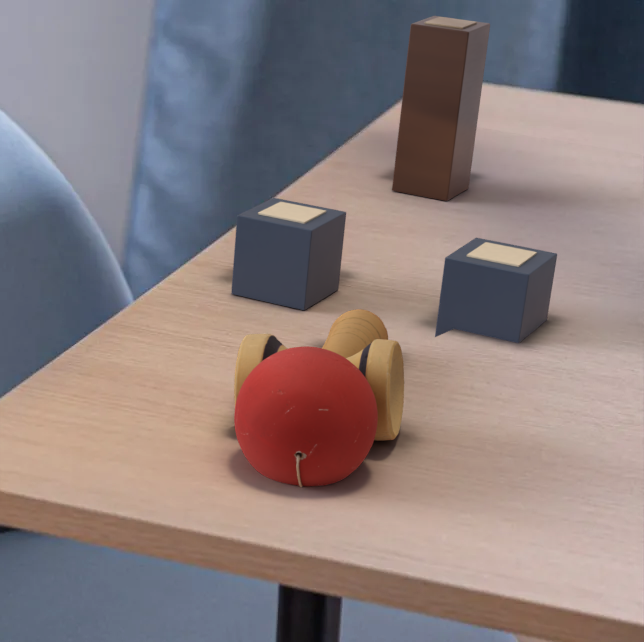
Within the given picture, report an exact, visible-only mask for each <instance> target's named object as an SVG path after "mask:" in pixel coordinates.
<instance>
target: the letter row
mask: <svg viewBox="0 0 644 642" xmlns="http://www.w3.org/2000/svg"><path fill="white" fill-rule="evenodd" d="M346 221H347V211H345V210H338V209H333V208H329V207H323V206H320V205H319V206H317V205H313V204H308V203H303V202H298V201H293V200H288V199H284V198H283V199H282V198H277V197H272V198H270V199H268V200H265V201H264V202H262V203H260V204H257V205H256V206H254V207H251V208H249V209H247V210H245V211H243V212H241V213H239V214H237V215H236V226H235V240H234V252H233V264H232V265H233V266H232V279H231V293H230V294H231V295H234V296H239V297H243V298H247V299H248V298H249V299H252V300H256V301H261V302H265V303H269V304H273V305H279V306H283V307H287V308H292V309H296V310H299V311H306V310H307V309H309V308H311V307H312V306H314V305H315V304H318V303H319V302H321V301H322V300H323V299H325V298H327V297H329V296H330V295H332V294H334V293H335V292H337V291H338V290H339V287H340V278H341V270H342V269H341V266H342V259H343V250H344V240H345V229H346ZM557 258H558V253H557V252H552V251H547V250H542V249H537V248H532V247H526V246H521V245H516V244H512V243H506V242H501V241H496V240H491V239H486V238H480V237H474V238H473V239H471V240H470V241H469V242H467V243H465V244H464V245H462V246H461V247H459V248H457V249H456V250H455V251H453V252H452V253H450V254H448V255H447V256H445V258H444V263H443V272H442V277H441V278H442V280H441V285H440V293H439V294H440V295H439V301H438V309H437V317H436V326H435V333H434V338H437V337H439V336H441V335H444V334H446V333H448V332H450V331H453V330H457V331H463V332H466V333H472V334H475V335H481V336H484V337H489V338H494V339H497V340H502V341H507V342H512V343H516V344H520V343H521V342H522V341H523V340H525V339H526V338H527V337H528V336H529V335H531V334H532V333H533V332H534V331H535V330H537V329H538V328H539V327H541V326H542V325H543V324H544V323H545V322H547V321H548V315H549V309H550V305H551V296H552V291H553V285H554V279H555V278H554V277H555V272H556V266H557Z"/></svg>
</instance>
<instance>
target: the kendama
mask: <svg viewBox="0 0 644 642" xmlns="http://www.w3.org/2000/svg"><path fill="white" fill-rule="evenodd" d="M404 366H405V365H404V357H403V351H402V346H401V344H400V343H399V341H397V340H394V339H389V333H388V329H387V328H386V325H385V323H384V321H383V320H382V319H381V318H380V316H378V315H377V314H375V313H374V312H372V311H370V310H367V309H362V308H358V309H356V308H355V309H352V310H347V311H346V312H343V313H342V314H341V315H339V316H338V317H336V319H335V320H334V322H333V323H332V325H331V327H330V329H329V332H328V335H327V337H326V340H325V342H324V343H323V345H322V347H318V346H310V345H309V346H306V345H305V346H304V345H303V346H294V347H289V348H288V347H286V346H285V345H284V344H283V343H282V342H281V341H280V340H279V339H278V338H277V336H275V335H274V334H272V333H249V334H246V335H245V336H244V337H243V339H242V340H241V342H240V345H239V347H238V351H237V355H236V361H235V368H234V369H235V370H234V383H233V384H234V386H233V393H234V394H233V399H234V414H233V415H234V416H233V417H234V418H233V421H234V431H235V435H236V440H237V442H238V445H239V447H240V450H241V451H242V453H243V455H244V457H245V459H246V460H247V461H248V463H249V464H250V465H251V466H252V468H254V469H255V470H256V472H258V473H259V474H260V475H262V476H263V477H266V478H267V479H270V480H272V481H275V482H277V483H281V484H287V485H292V486H298V487H300V488H303V487H320V486H321V487H322V486H327V485H333V484H335V483H338V482H341V481H342V480H344V479H346V478H347V477H349V476H350V475H352V473H354V471H356V470H357V469H358V468H359V467H360V466H361V464H362V463H363V462H364V461H365V459H366V458H367V456H368V455H369V452H370V451H371V448H372V447H373V444H374V442H375V441H377V442H378V441H393V440H395V439H396V437H397V436H398V435H399V433H400V429H401V425H402V419H403V414H404V413H403V412H404V402H405V401H404V400H405V399H404V398H405V367H404Z"/></svg>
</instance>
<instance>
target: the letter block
mask: <svg viewBox="0 0 644 642" xmlns="http://www.w3.org/2000/svg"><path fill="white" fill-rule="evenodd" d="M490 30H491V23H489V22H482V21H476V20H475V21H474V20H468V19H461V18H453V17H446V16H439V15H432V16H429V17H426V18H424V19H422V20H421V19H420V20H418V21H416V22H413V23H410V28H409V36H408V46H407V54H406V63H405V72H404V79H403V80H404V81H403V88H402V97H401V107H400V114H399V115H400V117H399V122H398V132H397V141H396V142H397V143H396V151H395V159H394V167H393V178H392V185H391V191H392V192H397V193H401V194H402V193H403V194H408V195H413V196H418V197H423V198H429V199H433V200H438V201H439V200H440V201H445V202H448V201H450V200H451V199H454V198H455V197H457V196H459V195H460V194H462V193H463V192H465V191H467V190H469V187H470V181H471V173H472V166H473V165H472V164H473V159H474V158H473V157H474V150H475V142H476V135H477V129H478V128H477V127H478V122H479V121H478V119H479V112H480V106H481V105H480V104H481V97H482V90H483V83H484V75H485V69H486V59H487V53H488V45H489V38H490Z"/></svg>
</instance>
